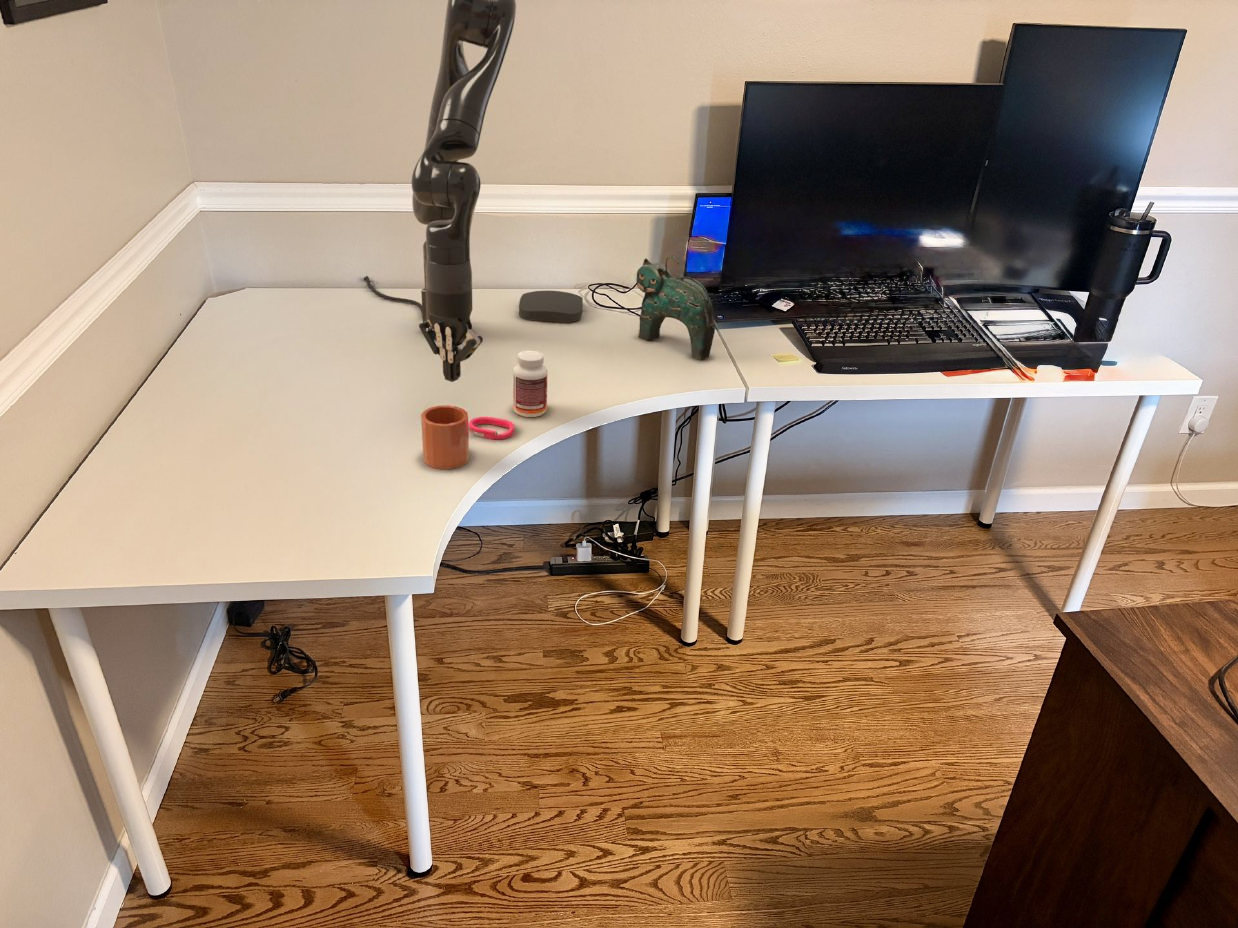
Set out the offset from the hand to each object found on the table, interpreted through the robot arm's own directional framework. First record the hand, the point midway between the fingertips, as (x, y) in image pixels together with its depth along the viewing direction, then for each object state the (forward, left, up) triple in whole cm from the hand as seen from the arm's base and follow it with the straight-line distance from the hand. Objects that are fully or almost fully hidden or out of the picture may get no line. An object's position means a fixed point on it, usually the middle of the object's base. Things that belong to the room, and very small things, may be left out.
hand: (451, 379), depth 159 cm
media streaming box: (-19, +57, -8) cm, 60 cm away
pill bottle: (+9, +11, -8) cm, 16 cm away
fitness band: (+9, 0, -8) cm, 12 cm away
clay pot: (+9, -12, -8) cm, 17 cm away
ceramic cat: (+14, +57, -8) cm, 59 cm away
